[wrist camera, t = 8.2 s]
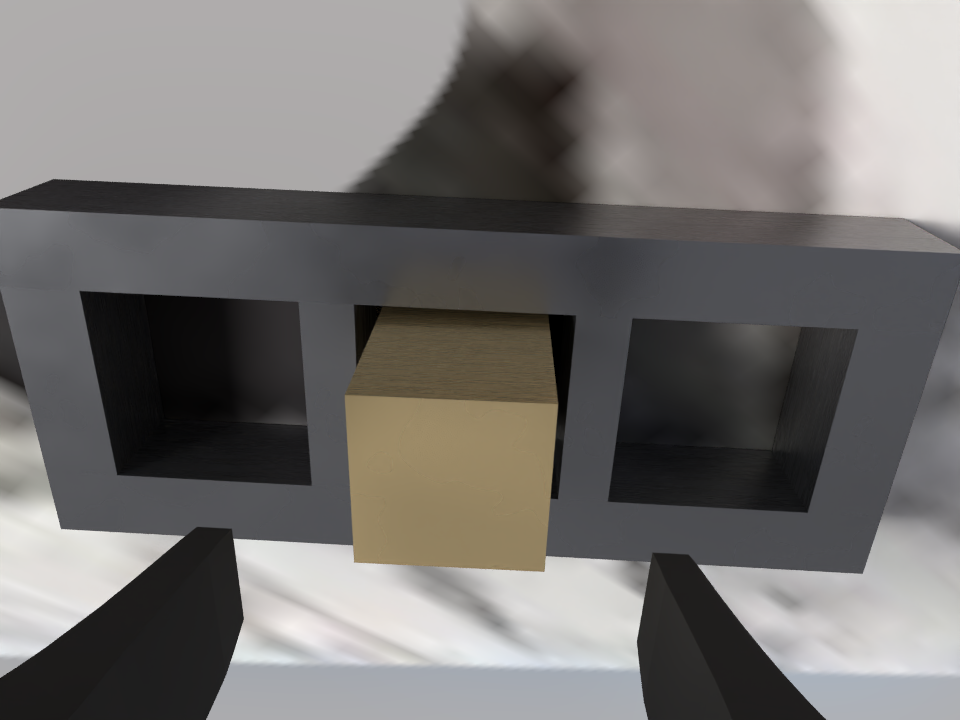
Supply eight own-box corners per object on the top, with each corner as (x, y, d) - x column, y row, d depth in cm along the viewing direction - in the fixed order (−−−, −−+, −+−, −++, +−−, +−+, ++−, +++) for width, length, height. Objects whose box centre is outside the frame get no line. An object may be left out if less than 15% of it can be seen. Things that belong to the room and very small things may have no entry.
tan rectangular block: (543, 279, 20) (557, 404, 14) (535, 408, 22) (544, 571, 16) (396, 273, 20) (344, 395, 14) (399, 402, 22) (354, 562, 16)
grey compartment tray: (904, 218, 19) (968, 253, 16) (821, 506, 23) (862, 573, 20) (53, 178, 20) (-20, 207, 17) (113, 468, 23) (61, 528, 21)
